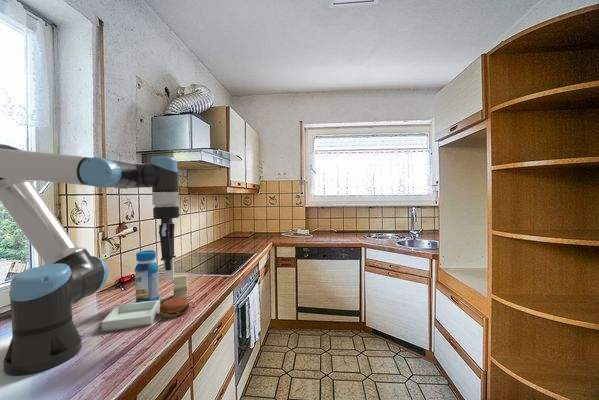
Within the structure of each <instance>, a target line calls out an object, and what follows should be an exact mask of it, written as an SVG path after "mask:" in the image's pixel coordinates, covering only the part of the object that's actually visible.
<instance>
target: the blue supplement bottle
mask: <svg viewBox="0 0 599 400" xmlns="http://www.w3.org/2000/svg"><path fill="white" fill-rule="evenodd" d="M135 256H136V257H135V260H136V262H137V264H136V265H135V268H134V272H135V275H134V283H135V303H138V302H147V301H155V300H160V294H159V293H160V291H159V290H160V288H159V287H160V286H159V276H160V272H159V271H158V270H159V265H158V263H157V262H156V261H155V260H156V259H157V252H156V250H154V249H149V250H141V251H138V252H136V253H135Z"/></svg>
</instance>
